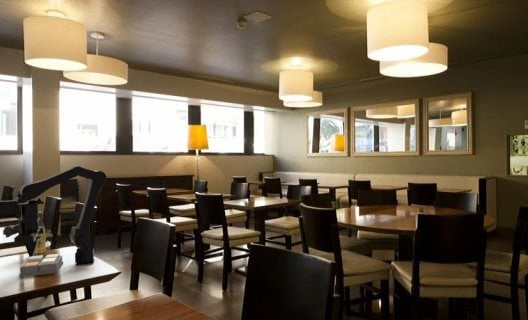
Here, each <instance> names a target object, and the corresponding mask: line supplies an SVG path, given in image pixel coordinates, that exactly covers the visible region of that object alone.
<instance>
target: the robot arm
mask: <svg viewBox="0 0 528 320" xmlns="http://www.w3.org/2000/svg"><path fill="white" fill-rule="evenodd" d="M77 177H80V178H84V179H85V180H87V192H86V196H85V200H84V202H83V206H82V210H81V213H80V216H79V220H78V223H77V225H76V226H71V231H70V234H69V235H68V236H69V237H70V238H69V239H70V242H71V243H72V244H74V246H75V247H76V251H75V253H74V259H75V261H74V263H75V266H84V265H93V264H94V263H95V252H94V251H95V247H96V243H94V242H93V241H91V240H90V235H91V228H90V224H91V221H92V218H93V215H94V210H95V207H96V204H97V200H98V197H99V193H100V191H101V190H102V189H103V187H104V185H105V184H106V181H107V178H108V177H107V174H106V173H105V172H104V171H102V170H93V169H92V170H91V169H87V168H85V167H82V166H79V165H74V166H72V167H71V168H69V169H66V170H64V171H62V172H59V173H56V174H55V175H52V176H50V177H47V178H45V179H42V180H41V179H40V180H38V181H33V182H29V183H25V184H23V185H22V186H20V189H19V193H18V195H16V197H15V198H14V199H13V200H0V220H7V219H16V218H17V217H18V216H19V215H20V214H21V217H20V220H18V223H16V224H15V225H11V224H10V225H8V226H5V227H4V228H3V230H2V234H3V235H5V238H6V239H8V238H10V237H11V236H14V235H16V236H15V237H14V238H13V244H16V245H17V244H19V245H20V244H23V245H24V246H25V249H26V251H27V255H28V257H29V258H30V257H32V256H33V255H34V252H35V250H36V248H37V245H38V243H39V241H40V239H41V236H37V233H42V234H44V233H45V234H46V227H45V226H44V227H45V228H44V227H43V226H39V220H40V217H39V212H40V211H39V210H40V209H39V205H44V204H45V201H43V200H42V199H41V197H39V196H40V195H43V194H44V193H45V192H46V191H48V190H49V189H52V188H54V187H55V186H58V185H60V184H62V183H65V182H67V181H69V180H71V179H73V178H77ZM20 212H21V213H20Z"/></svg>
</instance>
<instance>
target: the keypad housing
mask: <svg viewBox="0 0 528 320" xmlns="http://www.w3.org/2000/svg"><path fill="white" fill-rule="evenodd" d="M45 257H46V256H45ZM45 257H44V256H43V260H44V259H45ZM43 260H42V261H43ZM42 261H36V262H40V263H39V264H38V265H35V266H25V267H23V266H24V265H25V264H26V263H30V262H28V259H27V260H26V261H25V262H24V263H23V264H22V265H21V266H20V269H19V270H20V273H19V278H21V277H31V276H32V277H33V276H38V275H39V276H41V275H49V274H58V273H59V272H60V271H59V270H61V268H62V266H63V265H64V261H63V255H60V258H59V259H57V262H56V263H55V264H46V265H41V262H42Z"/></svg>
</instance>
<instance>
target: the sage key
mask: <svg viewBox="0 0 528 320" xmlns="http://www.w3.org/2000/svg"><path fill="white" fill-rule="evenodd" d="M60 256H61V255H60V253H54V254H53V253H52V254H47V255H46V256H45V259H47V258H57V259H59V258H60Z"/></svg>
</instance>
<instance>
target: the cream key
mask: <svg viewBox="0 0 528 320" xmlns="http://www.w3.org/2000/svg"><path fill="white" fill-rule="evenodd" d="M56 262H57V258H47V259H44V260H43V261H42V262H41V265H46V264H55V263H56Z"/></svg>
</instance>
